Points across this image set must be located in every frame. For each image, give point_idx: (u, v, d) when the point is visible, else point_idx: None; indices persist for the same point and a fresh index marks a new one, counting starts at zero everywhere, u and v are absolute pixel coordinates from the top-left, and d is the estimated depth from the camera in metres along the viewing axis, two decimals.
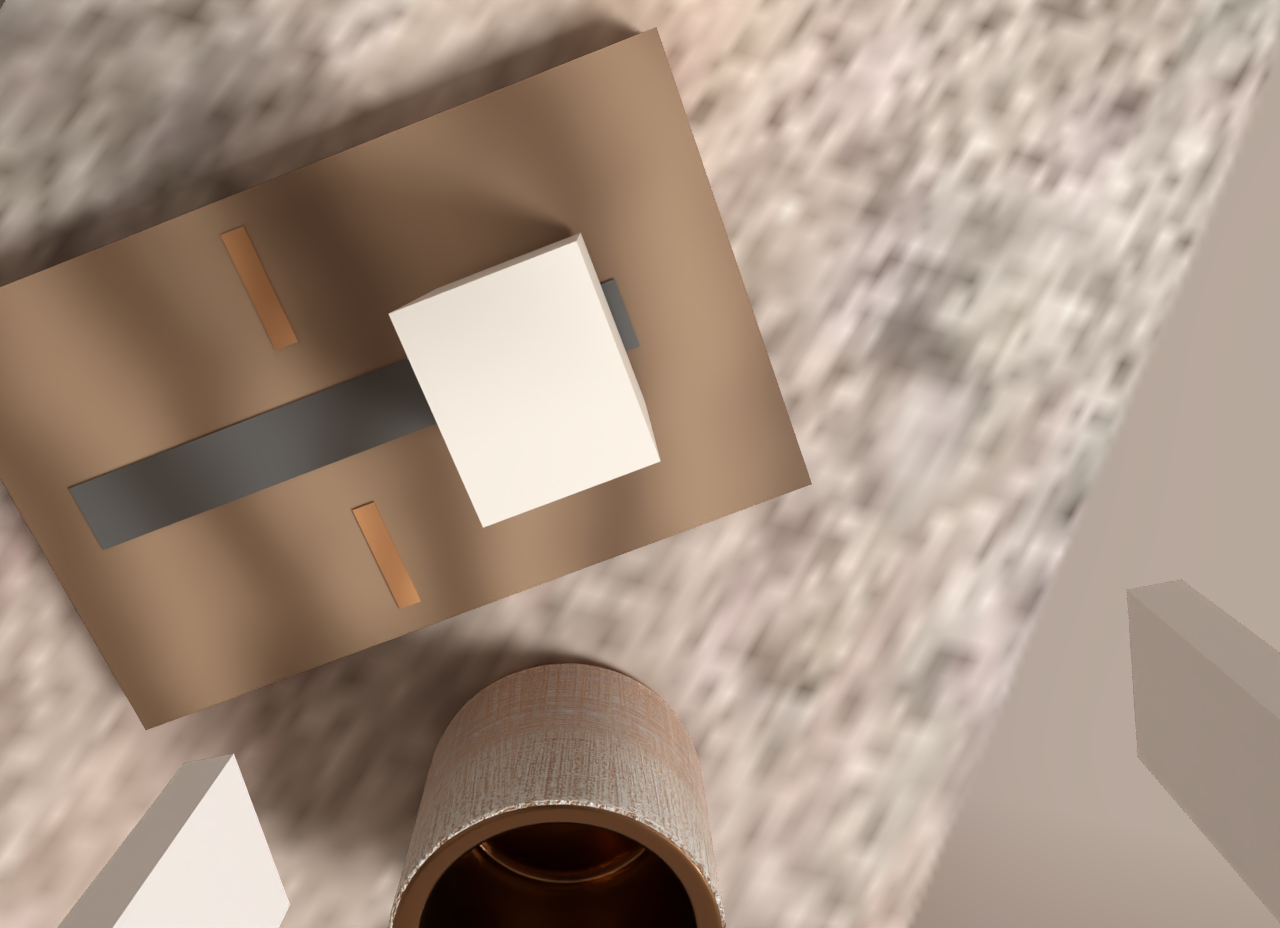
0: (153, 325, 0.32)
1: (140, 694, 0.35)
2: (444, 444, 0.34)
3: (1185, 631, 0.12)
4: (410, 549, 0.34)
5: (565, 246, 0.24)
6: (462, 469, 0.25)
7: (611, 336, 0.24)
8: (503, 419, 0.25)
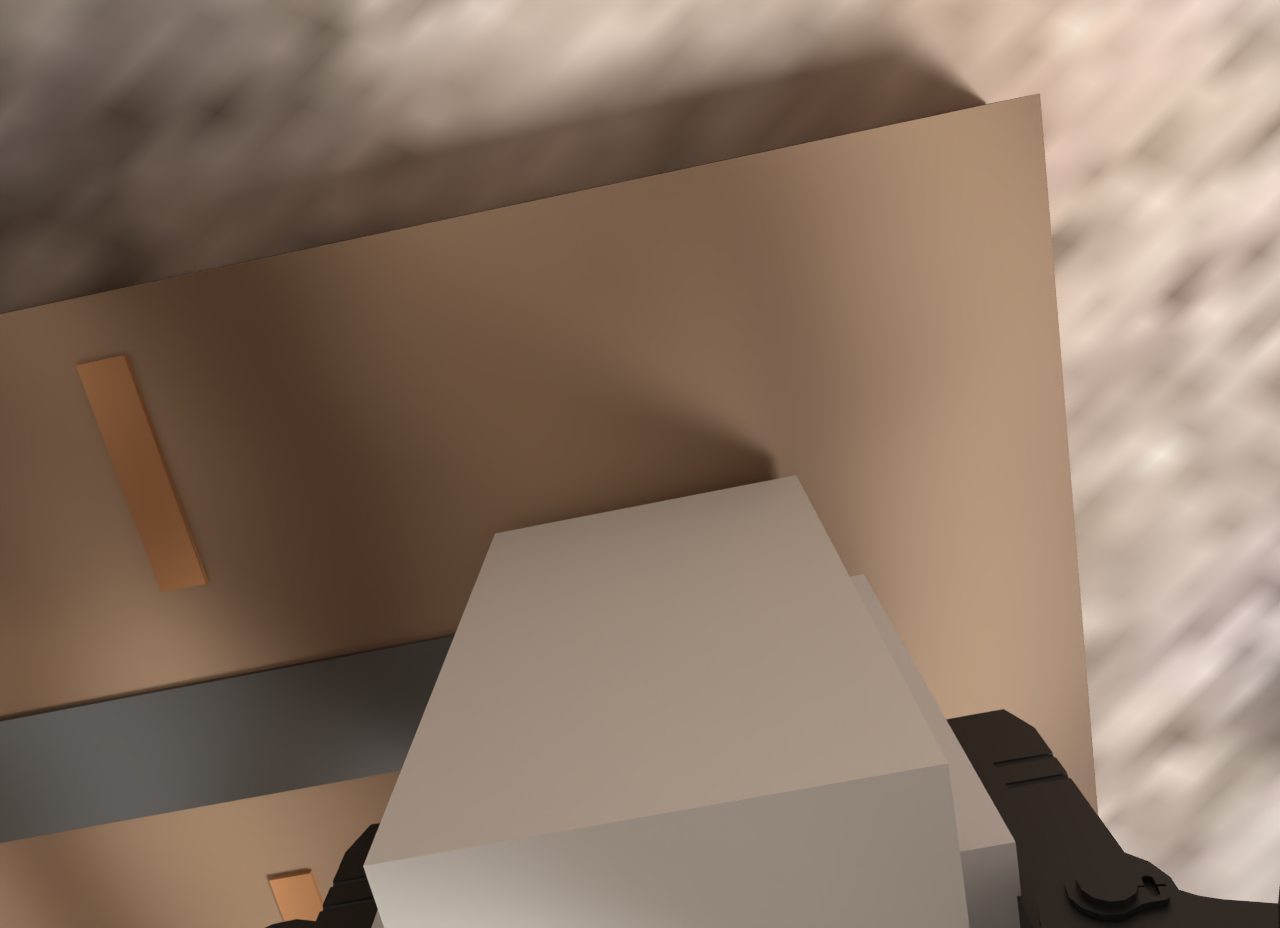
0: None
1: None
2: None
3: None
4: None
5: (911, 770, 0.08)
6: None
7: None
8: None
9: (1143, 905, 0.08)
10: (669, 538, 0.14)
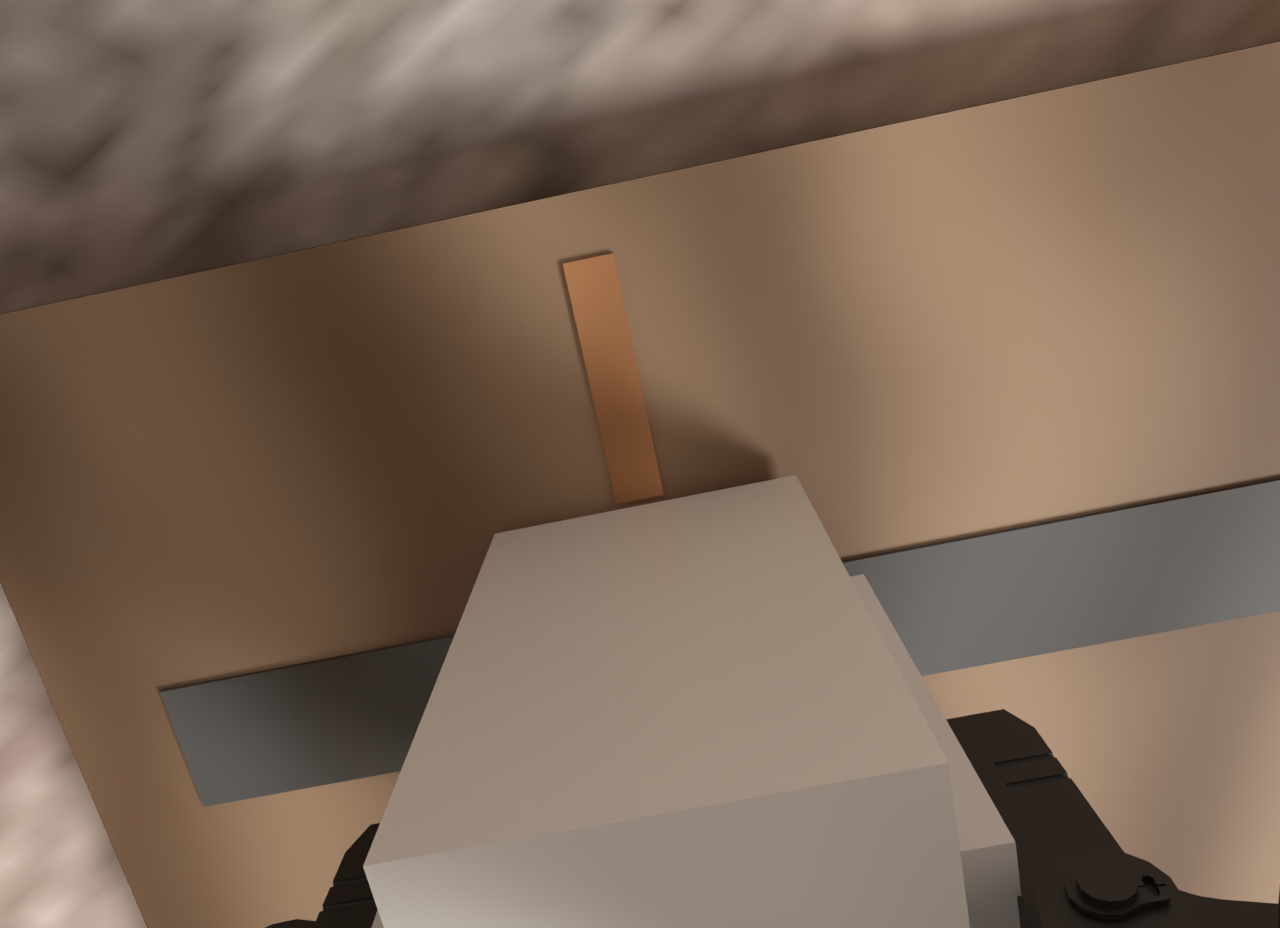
0: (384, 417, 0.16)
1: None
2: None
3: None
4: None
5: (911, 769, 0.08)
6: None
7: None
8: None
9: (1143, 905, 0.08)
10: (669, 538, 0.14)
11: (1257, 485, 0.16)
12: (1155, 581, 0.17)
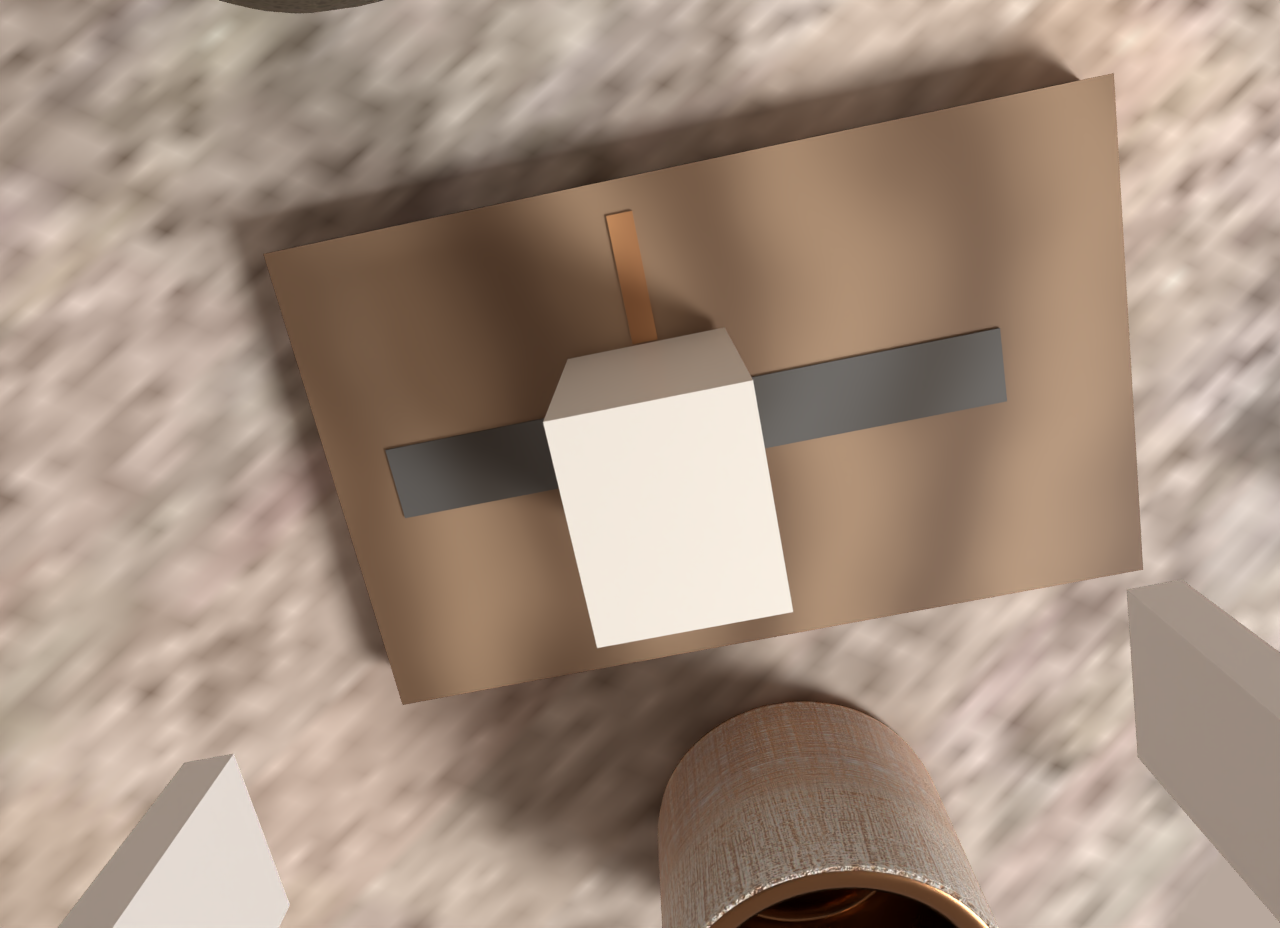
0: (512, 297, 0.30)
1: (406, 668, 0.34)
2: (779, 468, 0.32)
3: (1185, 631, 0.12)
4: None
5: (740, 383, 0.23)
6: (588, 588, 0.24)
7: (769, 481, 0.23)
8: (640, 545, 0.24)
9: None
10: (658, 350, 0.29)
11: (970, 334, 0.31)
12: (920, 388, 0.31)
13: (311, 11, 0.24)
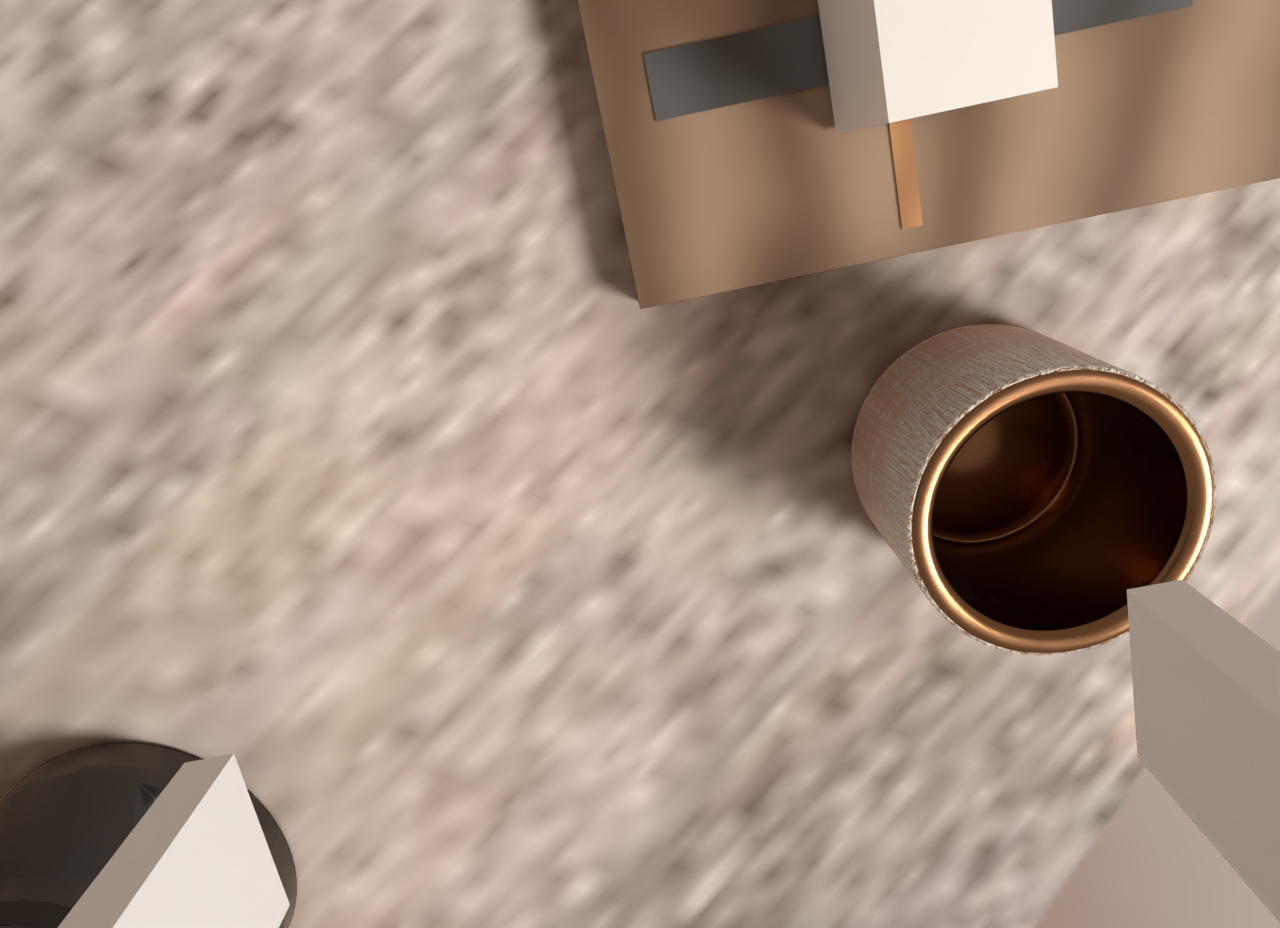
0: None
1: (645, 272, 0.38)
2: None
3: (1185, 631, 0.12)
4: (927, 171, 0.37)
5: None
6: (886, 63, 0.28)
7: None
8: (934, 20, 0.28)
9: None
10: None
11: None
12: None
13: None
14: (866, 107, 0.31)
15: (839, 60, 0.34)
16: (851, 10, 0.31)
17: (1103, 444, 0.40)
